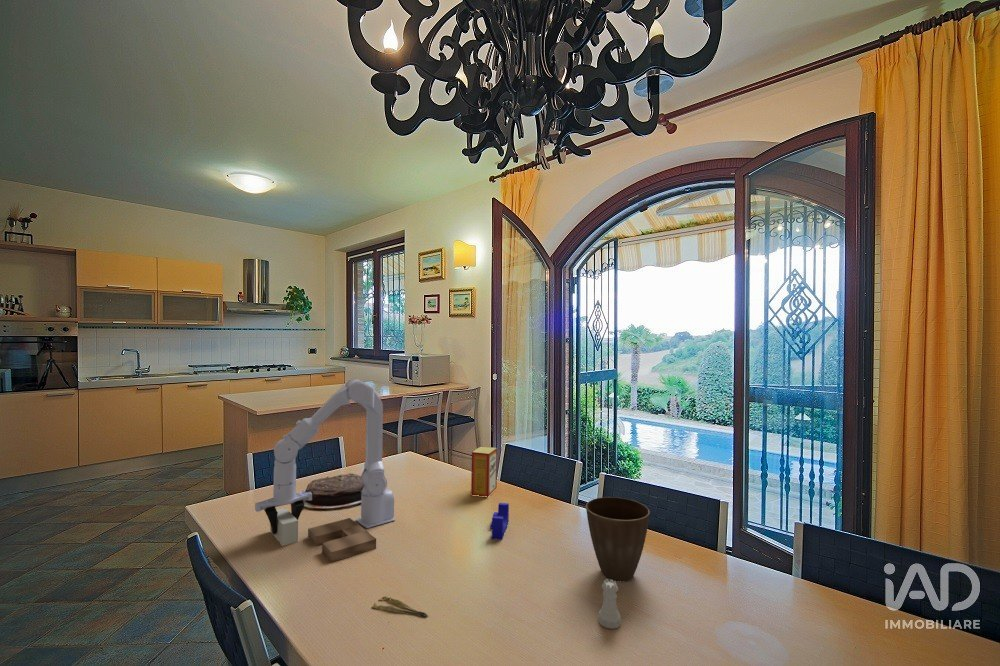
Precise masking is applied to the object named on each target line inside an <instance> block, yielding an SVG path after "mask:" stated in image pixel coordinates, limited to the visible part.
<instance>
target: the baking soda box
mask: <svg viewBox="0 0 1000 666" xmlns="http://www.w3.org/2000/svg"><path fill="white" fill-rule="evenodd" d="M497 474H498V448H497V447H492V446H479V447H478V448H476V449H474V450H473V451H472V452H471V474H470V475H471V479H470V480H471V481H470V482H471V483H470V484H471V485H470V488H471V489H470V490H471V491H470V492H471V493H470V494H472V495H479V496H487V497H488V496H489V495H490V494H491V493H492V492H493V491H494V490H495V489H496V488H498V487H497V485H498V484H497V481H498V480H497V477H498V475H497Z"/></svg>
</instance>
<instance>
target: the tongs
mask: <svg viewBox="0 0 1000 666" xmlns="http://www.w3.org/2000/svg"><path fill="white" fill-rule="evenodd" d="M379 601H382V602H383V601H386V602H389V603H390V604H394V605H397V606H398V607H401V608H403V609H401V608H398V607H394V606H391V605H378V604H376V602H374V603H373V605H372V606H371V608H372V609H376V610H382V611H383V610H384V611H388V612H394V613H402V614H406V615H407V614H408V615H413V616H418V617H422V618H428V617H429V615H428V614H427V613H426V612H423V611H418V610H416V609H413V608H412V607H410V606H409V605H408V604H406V603H404V602H403V601H401V600H399V599H395V598H392V597H388V596H387V595H385V596H384V595H383V597H381V598H378V602H379Z"/></svg>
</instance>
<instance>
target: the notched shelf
mask: <svg viewBox="0 0 1000 666" xmlns="http://www.w3.org/2000/svg"><path fill="white" fill-rule="evenodd" d="M307 538H308V540H309V541H310V542H311V543H312V544H313V543H314V544H315V545H317V546H321V545H322V546H321V550H322V551H321V553H322V554H323V555H324V556H325V558H327V560H328V561H329V560H330V561H329V562H330V563H334V562H336V561H340V560H342V559H347V558H349V557H352V556H357V555H359V554H362V553H365V552H368V551H372V550H375V549H377V538H376V537H375V536H373V535H372V533H370V532H368V530H366V529H364V527H362V525H359V524H358V522H357V521H354V520H353V519H352V518H351V517H347V518H345V519H340V520H337V521H333V522H328V523H325V524H321V525H318V526H313V527H309V528H307ZM314 544H313V545H314ZM320 544H321V545H320ZM315 545H314V546H315Z"/></svg>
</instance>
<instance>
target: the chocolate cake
mask: <svg viewBox="0 0 1000 666" xmlns="http://www.w3.org/2000/svg"><path fill="white" fill-rule="evenodd" d="M363 488H364V485H363V483H362V481H361V475H359V474H355V473H347V474H339V475H336V476H335V475H334V476H326V477H323V478H318V479H314V480H312V481H311V482H309V483H308V484H307V486H306V488H305V489H303V490H301V491H300V492H299V493H305V492H311V493H312V500H309V501H308V500H306V501H303V503H304V504H305V505H304V508H305V507H306V509H309V510H320V509H321V510H326V511H333V509H334V510H337V509H342V508H353V507H352V506H354V507H357V506H359V504H360V505H361V491H362V490H363ZM356 505H357V506H356ZM341 507H342V508H341Z"/></svg>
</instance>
